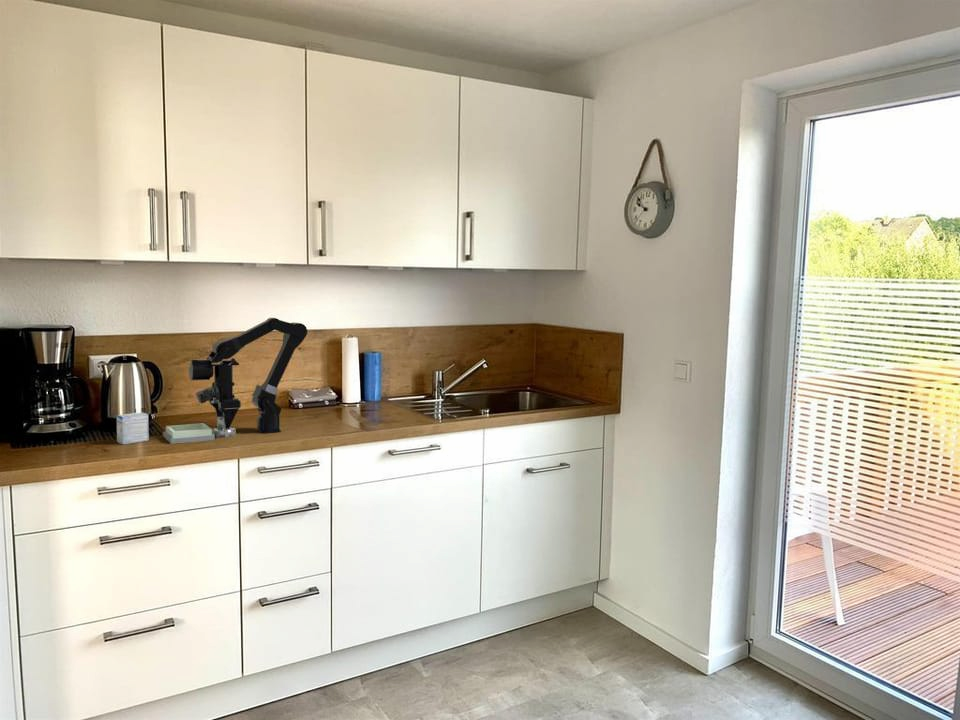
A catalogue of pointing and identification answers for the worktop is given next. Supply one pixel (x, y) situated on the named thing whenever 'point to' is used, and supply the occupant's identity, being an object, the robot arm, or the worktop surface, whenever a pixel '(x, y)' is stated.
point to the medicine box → (132, 428)
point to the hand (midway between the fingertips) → (223, 426)
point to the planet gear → (223, 429)
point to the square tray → (188, 433)
